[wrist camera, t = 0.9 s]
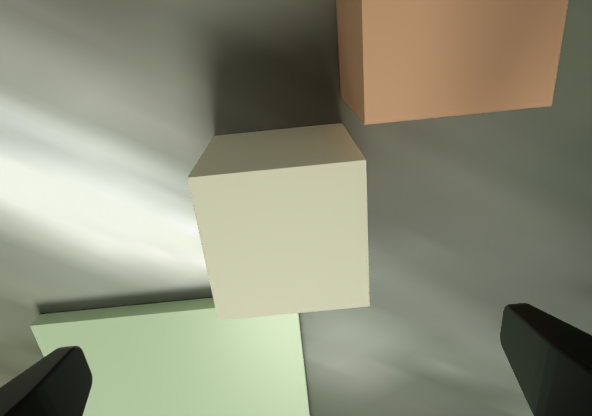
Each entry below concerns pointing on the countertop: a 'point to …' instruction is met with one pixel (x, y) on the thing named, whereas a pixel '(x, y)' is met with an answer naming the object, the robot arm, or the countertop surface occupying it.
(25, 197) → the countertop surface
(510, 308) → the robot arm
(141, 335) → the plate
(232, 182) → the cream brick
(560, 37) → the terracotta brick
